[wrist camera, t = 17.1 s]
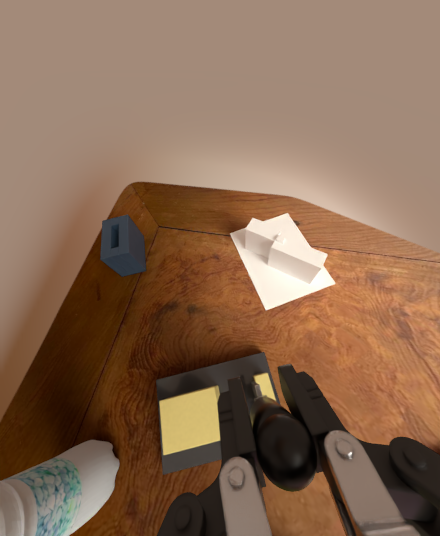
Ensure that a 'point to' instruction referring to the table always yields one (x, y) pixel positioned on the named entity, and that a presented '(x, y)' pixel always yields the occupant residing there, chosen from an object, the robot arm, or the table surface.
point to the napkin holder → (280, 260)
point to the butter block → (190, 420)
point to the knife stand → (122, 246)
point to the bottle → (58, 492)
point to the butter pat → (264, 384)
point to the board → (219, 377)
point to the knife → (282, 444)
